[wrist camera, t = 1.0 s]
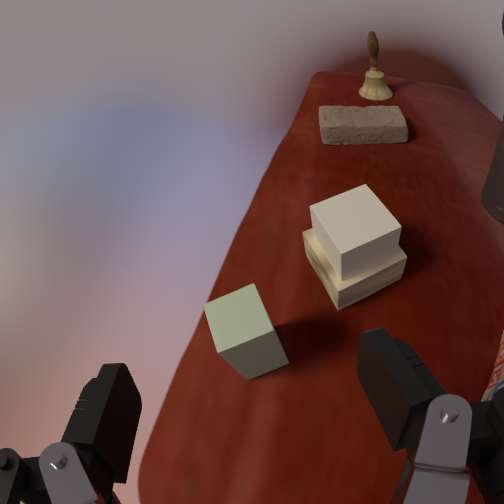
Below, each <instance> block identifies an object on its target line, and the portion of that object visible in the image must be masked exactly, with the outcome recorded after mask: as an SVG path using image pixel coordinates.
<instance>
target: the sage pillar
mask: <svg viewBox="0 0 504 504" xmlns="http://www.w3.org/2000/svg"><path fill="white" fill-rule="evenodd" d="M203 306H204V310H205V313H206V316H207V320H208V323H209V326H210V330H211V333H212V336H213V339H214V343H215V346H216V349H217V352H218V354H219V355H220V356H222V357H223V358H224V359H225V360H226V361H227V362H228V363H229V364H230V365H231V366H232V367H233V368H234V369H235V370H237V371H238V372H239V373H240V374H241V375H242V376H243V377H244V378H245V379H246V380H250V379H252V378H255V377H257V376H260V375H262V374H265V373H267V372H270V371H272V370H274V369H277V368H279V367H282V366H284V365H286V364H289V362H288V359H287V357H286V355H285V352H284V350H283V348H282V345H281V343H280V341H279V339H278V336H277V334H276V332H275V329H274V327H273V325H272V323H271V320H270V318H269V316H268V314H267V312H266V309H265V307H264V305H263V303H262V300H261V298H260V296H259V294H258V292H257V289H256V287H255V285H254V283H253V284H251V285H248V286H246V287H244V288H241V289H239V290H237V291H234V292H232V293H230V294H227V295H225V296H223V297H220V298H218V299H216V300H213V301H211V302H208V303H206V304H204V305H203Z"/></svg>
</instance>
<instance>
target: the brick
mask: <svg viewBox="0 0 504 504" xmlns="http://www.w3.org/2000/svg"><path fill="white" fill-rule="evenodd" d="M319 124H320V132H321V138H322V141H323V143H324V144H327V145H341V144H344V145H348V144H372V143H400V142H401V143H405V142H407V140H408V128H407V124H406V120H405V117H403V115H402V113H401V110H400V108H399V107H398V106H368V107H364V108H363V107H357V106H349V107H343V106H321V107H320V108H319Z"/></svg>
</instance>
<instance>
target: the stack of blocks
mask: <svg viewBox="0 0 504 504" xmlns="http://www.w3.org/2000/svg"><path fill="white" fill-rule="evenodd" d="M500 344H501V346H500V348H499V352H498V355H497V359H496V362H495V365H494V369H493V372H492V375H491V378H490V381H489V383H488V386H487V390H485V392H484V395H483V397H482V400H481V402H483V401H489V400H492V399H493V397H494V395H495V393H496V392H497V390H499V389H500V388H502V387H504V331H503V335H502V339H501V343H500Z"/></svg>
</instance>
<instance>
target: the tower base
mask: <svg viewBox="0 0 504 504" xmlns="http://www.w3.org/2000/svg"><path fill="white" fill-rule="evenodd" d="M303 238H304V244H305V250H306V256H307V257H308V259H309V261H310V262H311V264H312V266H313V268H314V269H315V271H316V273H317V274H318V276H319V278H320V280H321V281H322V283H323V285H324V287H325V288H326V290H327V292H328V294H329V295H330V297H331V299H332V301H333V303H334V304H335V306H336V308H337V310H338V311H339V310H341V309H343V308H345V307H347V306H349V305H351V304H353V303H355V302H357V301H359V300H361V299H363V298H365V297H367V296H369V295H371V294H373V293H375V292H377V291H379V290H380V289H382V288H384V287H386V286H388V285H390V284H392V283H394V282H396V281H397V280H399V279H401V277H402V273H403V270H404V267H405V263H406V260H407V256H406V254H405V253H404V252H403V250H402V249H401V248H400V246H399V245H398V247H397V252H396V256H395V257H393V258H391V259H388V260H386V261H384V262H382V263H380V264H378V265H376V266H374V267H372V268H370V269H368V270H366V271H363V272H361V273H359V274H357V275H355V276H353V277H351V278H348V279H346V280H344V281H342V282H341V280H340V279H339V277H338V275H337V274H336V272H335V270H334V268H333V267H332V265H331V263H330V262H329V260H328V258H327V257H326V255H325V253H324V252H323V250H322V248H321V247H320V245H319V243H318V242H317V240H316V238H315V237H314V233H313V228H312V229H309V230H307V231H305V232H303Z"/></svg>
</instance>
